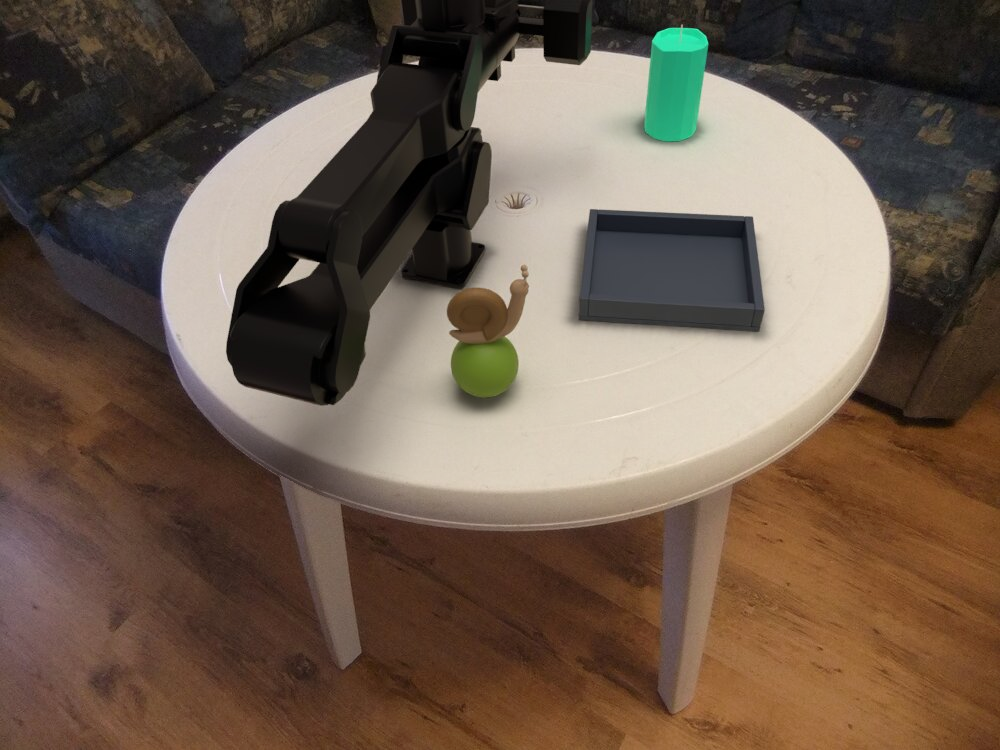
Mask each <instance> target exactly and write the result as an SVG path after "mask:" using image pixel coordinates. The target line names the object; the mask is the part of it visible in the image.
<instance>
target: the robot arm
mask: <svg viewBox="0 0 1000 750" xmlns="http://www.w3.org/2000/svg"><path fill="white" fill-rule="evenodd" d="M398 4H399V12H400V19H401V21H400V22H401V24H395V23H393V24H392V26H391V29H390V33H389V36H388V40H387V44H386V45H382V48H381V54H380V60H379V66H378V72H377V76H376V77H377V78H376V83H375V85H374V86H373V87H372V89H371V91H370V101H371V105H372V107H371V108H372V111H371V113H370V114H369V116H368V118H367V119H366V121H364V122H363V124H362V125H361V126H360V127H359V129H358V130H356V131H355V133H354V134H353V135H352V136H351V137H350V138H349V139H348V140H347V142H346V143H345V144H344V145H343V146H342V147H341V148H340V149H339V150H338V152H336V153H335V155H333V157H332V158H331V159H330V160H329V161H328V162H327V163H326V165H325V166H324V167H323V168H322V169H321V170H320V171H319V173H317V175H316V176H314V178H313V179H312V180H311V181H310V182H309V183H308V184H307V185H306V186H305V188H304V189H303V190H302V191H301V192H300V193H299V194H298V196H296V197H294V198H292V199H291V200H284V201H282V202H281V203H280V204H279V205H278V206H277V208H276V210H275V211H274V214H273V218H272V221H271V226H270V230H269V231H270V232H269V237H268V242H267V247H266V248H265V250H264V251H263V252H262V253H261V255H260V256H259V258H258V259H257V260H256V261H255V263H254V264H253V265H252V267H250V269H249V270H248V271H247V273H246V274H245V275H244V277H243V278H242V279H241V281H240V282H239V283H238V285H237V287H236V289H235V290H236V291H235V295H234V301H233V306H232V307H233V308H232V311H231V317H230V322H229V327H228V332H227V338H226V347H225V354H226V358H227V362H228V364H230V366H231V369H232V373H233V376H234V377H235V379H236V382H237V383H238V384H240V385H242V386H243V387H245V388H248V389H252V390H257V391H260V392H264V393H268V394H273V395H276V396H281V397H285V398H288V399H292V400H296V401H301V402H303V403H305V402H306V403H308V404H313V405H316V406H321V407H322V406H324V407H325V406H329V405H330V406H335V405H336V404H337V403H339V402H340V401H342V399H343V398H344V397H345V396H346V394H347V393H349V392H350V391H351V390H352V388H353V387H354V386H355V384H356V381H357V380H358V377H359V373H360V369H361V366H362V364H363V363H364V360H365V358H366V356H367V352H366V340H367V335H368V330H369V325H370V319H371V309H372V308H373V306H374V305H375V303H376V302H377V301H378V299H379V298H380V296H381V295H382V293H383V292H384V290H385V289H386V288H387V286H388V285H389V283H390V282H391V281H392V279H393V277H394V276H395V274H396V273H397V272H398V271H399V269H400V267H401V265H402V264H403V263H404V262H405V260H406V259H407V257H408V255H409V254H410V253H411V255H410V256H409V257H408V259H407V261H406V262H405V264H404V266H403V267H402V268H401V270H400V275H401V277H402V278H405V279H410V280H415V281H421V282H426V283H430V284H436V285H441V286H445V287H446V286H447V287H452V288H455V289H456V288H457V289H463V288H464V287H465V286H466V285H467V284H468V281H469V280H470V278H471V276H472V275H473V272H474V271H475V269H476V268H477V266H478V264H479V263H480V260H481V259H482V257H483V256H484V253H485V252H486V245H485V244H483V243H479V242H473V241H472V231H473V228H474V227H475V226H476V224H477V223H478V221H479V220H480V218H481V216H482V215H483V213H484V211H485V209H486V208H487V207H488V205H489V202H490V186H491V172H492V171H491V170H492V155H493V154H492V147H491V143H489V142H487V141H484V140H483V136H482V130H481V128H480V127H476V126H472V125H473V122H474V119H475V115H476V109H477V101H478V95H479V92H480V90H481V89H482V88H483V86H484V85H485V84H486V83H487V82H488V81H494V82H499V80H500V79H501V77H502V63H503V62H509V63H512V62H513V61H514V60H515V59H516V43H517V42H518V39H519V36H520V35H531V36H539V37H543V39H542V40H543V43H542V44H543V59H544V60H545V62H547V63H554V64H555V63H556V64H565V65H572V66H573V65H574V66H581V65H582V64H583V63H584V62H585V61H586V60H587V59H588V57H589V56H590V54H591V52H592V29H593V28H592V26H593V25H592V24H593V0H544V5H543V6H538V5H528V4H519V0H398ZM404 56H408V57H410V56H411V57H419V58H418V63H417V64H415V63H407V62H406V63H405V62H403V61H404ZM300 260H304V261H308V262H313V263H314V262H315V263H318V264H317V265H316V267H315V268H314V269H313V271H311V273H310V274H309V275H307V276H306V277H305V276H304V277H303V278H300V279H297V280H295V281H292V282H289V283H286V284H283V285H281V284H282V283H283V281H284V280H285V279H286V277H287V276H288V275H289V274H290V272H292V270H293V269H294V267H295V266H296V265H297V264H298V262H299V261H300Z"/></svg>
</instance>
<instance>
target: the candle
mask: <svg viewBox="0 0 1000 750" xmlns="http://www.w3.org/2000/svg"><path fill="white" fill-rule="evenodd" d="M683 26H684V25H683V24H681V25H680V27H668V28H666V29H663V30H660V31H657V32H656V34H655V35H654V37H653V39H652V40H651V47H650V48H651V49H650V59H649V70H648V80H647V92H646V101H645V112H644V123H643V126H644V131H645V134H646V135H648V136H650V137H651V138H652V139H655V140H659V141H663V142H681V141H684V140H687V139H690V138H692V137H693V135H694V134H695V133H696V131H697V126H698V120H699V119H698V118H699V112H700V105H701V97H702V91H703V86H704V85H703V84H704V77H705V70H706V63H707V57H708V50H709V41H708V37H707V35H706V34H704V33H703V32H702V31H701V30H699V29H698V28H691V27H683Z"/></svg>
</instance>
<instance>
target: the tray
mask: <svg viewBox="0 0 1000 750" xmlns="http://www.w3.org/2000/svg"><path fill="white" fill-rule="evenodd" d="M755 229H756V228H755V222H754V216H753V215H751V216H750V215H732V214H730V215H729V214H707V213H705V214H704V213H686V212H664V211H663V212H662V211H641V210H622V209H621V210H620V209H618V210H617V209H599V208H597V209H596V208H589V213H588V222H587V231H586V239H585V247H584V248H585V249H584V256H583V265H582V274H581V282H580V290H579V302H578V320H579V321H589V322H590V321H593V322H606V323H607V322H609V323H624V324H640V325H651V326H652V325H653V326H655V325H656V326H670V327H683V328H684V327H685V328H687V327H688V328H700V329H717V330H733V331H746V332H748V331H749V332H760V330H761V325H762V322H763V319H764V314H765V311H766V307H765V302H764V301H765V300H764V293H763V284H762V278H761V277H762V276H761V269H760V261H759V260H760V259H759V255H758V254H759V253H758V246H757V239H756V238H757V237H756V230H755Z"/></svg>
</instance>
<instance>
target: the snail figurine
mask: <svg viewBox="0 0 1000 750" xmlns="http://www.w3.org/2000/svg"><path fill="white" fill-rule="evenodd" d="M520 271H521V277H522V278H523V279H522V278H517V279H515V280H513V281H512V282H511V283H510V286H509V292H510V299H509V303H508V306H507V304H506V302H505V300H504V299H503V297H501V296H500V294H498V293H497V292H495V291H493V290H491V289H489V288H485V287H469V288H466V289H463V290H461V291H458V292H457V293H456V294H454V295H453V296H452V298H451V299H450V300H449V302H448V304H447V308H446V316H447V319H448V321H449V323H450V324H451V325H452V327H454V328H456V329H451V330H449V332H448V333H449V335H450V336H451V337H452V338H453V339H455V340H457V341H458V342H457V343H456V345H455V346H454V348H453V350H452V353H451V357H450V370H451V374H452V377H453V379H454V381H455V383H456V384H457V386H458V387H460V389H461V390H463V391H464V392H466V394H469V395H471V396H474V397H477V398H492V397H496V396H498V395H501V394H502V393H504V392H506V391H507V390H508V389H509V388H510V387H511V386H512V385H513V383H514V382H515V379H516V377H517V375H518V371H519V356H518V352H517V350H516V348H515V346H514V344H513V342H511V340H510V339H509V338H508V337H507V336H509V334H511V332H513V331H514V330H515V328H516V327H517V326H518V324H519V322H520V320H521V317H522V314H523V311H524V307H525V304H526V298H527V295H528V294H529V288H530V284H529V283H528V282H527V279H528V277H529V271H528V265H526V264H522V265H521V266H520Z"/></svg>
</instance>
